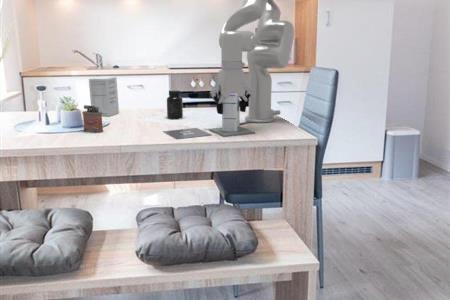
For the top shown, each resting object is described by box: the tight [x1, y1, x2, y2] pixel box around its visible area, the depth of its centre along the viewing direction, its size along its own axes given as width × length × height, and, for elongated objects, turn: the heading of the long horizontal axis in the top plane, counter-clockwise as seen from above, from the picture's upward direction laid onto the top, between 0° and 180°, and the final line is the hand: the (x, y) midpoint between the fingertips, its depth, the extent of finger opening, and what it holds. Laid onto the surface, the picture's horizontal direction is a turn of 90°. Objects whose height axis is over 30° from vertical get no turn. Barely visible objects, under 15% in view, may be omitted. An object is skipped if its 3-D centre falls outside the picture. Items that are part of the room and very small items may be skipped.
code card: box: [162, 127, 213, 140], centre depth 168 cm, size 14×14×1 cm
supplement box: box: [88, 76, 120, 117], centre depth 206 cm, size 10×9×17 cm
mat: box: [208, 126, 256, 138], centre depth 171 cm, size 13×13×1 cm
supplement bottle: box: [166, 89, 184, 120], centre depth 198 cm, size 7×7×12 cm
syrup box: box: [221, 93, 241, 132], centre depth 169 cm, size 6×6×14 cm
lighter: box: [82, 104, 104, 134], centre depth 171 cm, size 8×3×10 cm, turn 71°
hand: (231, 112), depth 170 cm, fingers open, 9 cm apart
